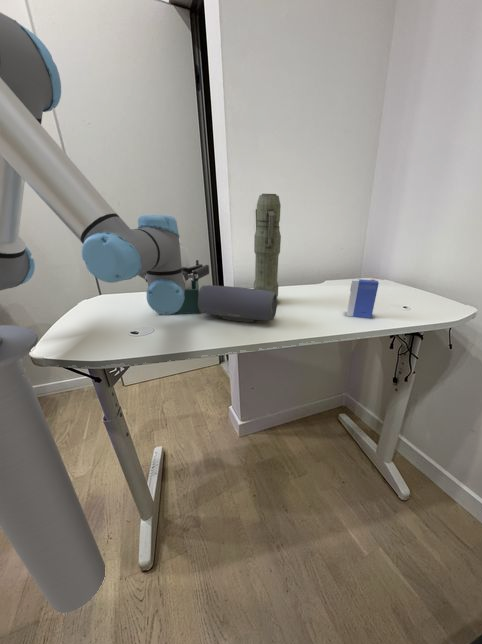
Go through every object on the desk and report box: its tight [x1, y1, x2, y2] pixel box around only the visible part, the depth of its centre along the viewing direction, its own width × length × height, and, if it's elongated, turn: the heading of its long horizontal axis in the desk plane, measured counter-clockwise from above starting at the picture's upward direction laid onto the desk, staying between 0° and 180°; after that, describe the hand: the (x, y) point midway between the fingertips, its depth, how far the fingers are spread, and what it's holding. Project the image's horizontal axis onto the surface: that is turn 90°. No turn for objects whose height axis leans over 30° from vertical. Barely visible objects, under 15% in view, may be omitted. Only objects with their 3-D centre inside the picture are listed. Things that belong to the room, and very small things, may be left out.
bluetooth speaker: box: [198, 284, 278, 323], centre depth 88 cm, size 23×9×10 cm, turn 76°
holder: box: [158, 279, 201, 316], centre depth 97 cm, size 13×13×8 cm
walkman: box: [346, 278, 380, 319], centre depth 94 cm, size 8×3×12 cm, turn 76°
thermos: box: [253, 193, 282, 297], centre depth 99 cm, size 9×12×35 cm
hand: (175, 264), depth 92 cm, fingers open, 13 cm apart
